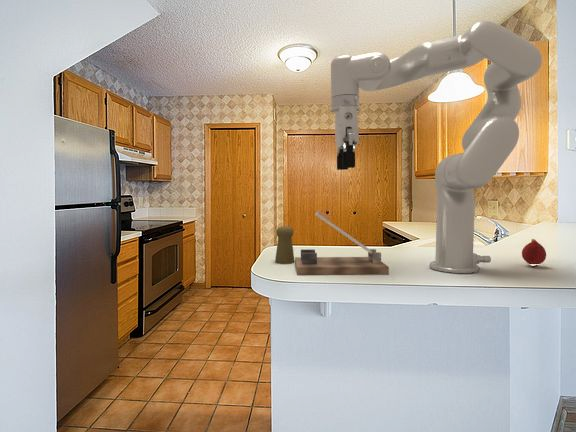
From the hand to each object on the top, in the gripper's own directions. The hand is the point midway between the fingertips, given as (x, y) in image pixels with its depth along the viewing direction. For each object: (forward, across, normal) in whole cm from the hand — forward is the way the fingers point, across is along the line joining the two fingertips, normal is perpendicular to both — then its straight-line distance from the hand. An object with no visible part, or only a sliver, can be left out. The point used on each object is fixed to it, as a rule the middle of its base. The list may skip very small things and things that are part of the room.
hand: (345, 168), depth 101 cm
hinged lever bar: (+19, 0, 0) cm, 19 cm away
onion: (+29, +1, -54) cm, 61 cm away
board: (+28, 0, +2) cm, 28 cm away
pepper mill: (+28, +10, +17) cm, 34 cm away
